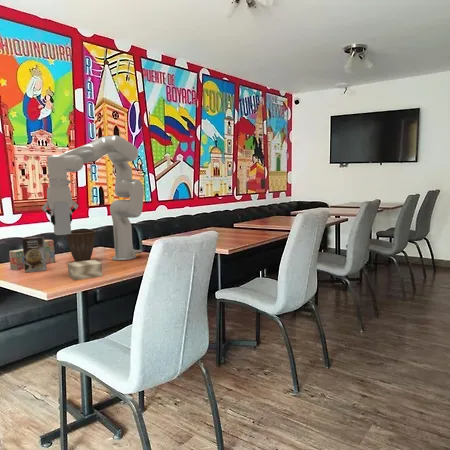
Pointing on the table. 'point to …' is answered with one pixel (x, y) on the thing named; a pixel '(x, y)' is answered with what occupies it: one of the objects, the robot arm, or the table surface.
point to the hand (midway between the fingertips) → (61, 223)
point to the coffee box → (34, 254)
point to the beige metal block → (85, 269)
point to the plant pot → (81, 244)
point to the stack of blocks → (18, 256)
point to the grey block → (62, 219)
